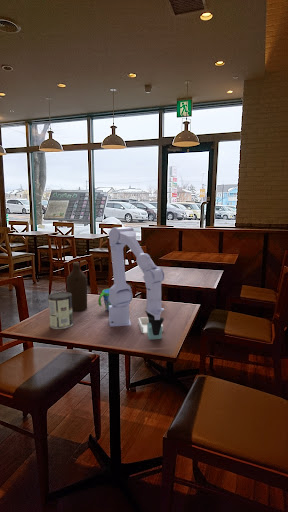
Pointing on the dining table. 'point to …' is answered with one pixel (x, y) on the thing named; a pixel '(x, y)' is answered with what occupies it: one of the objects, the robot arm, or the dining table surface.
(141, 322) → the open box
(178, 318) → the dining table surface
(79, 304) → the olive oil
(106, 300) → the snack cup
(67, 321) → the coffee can
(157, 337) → the teal block
